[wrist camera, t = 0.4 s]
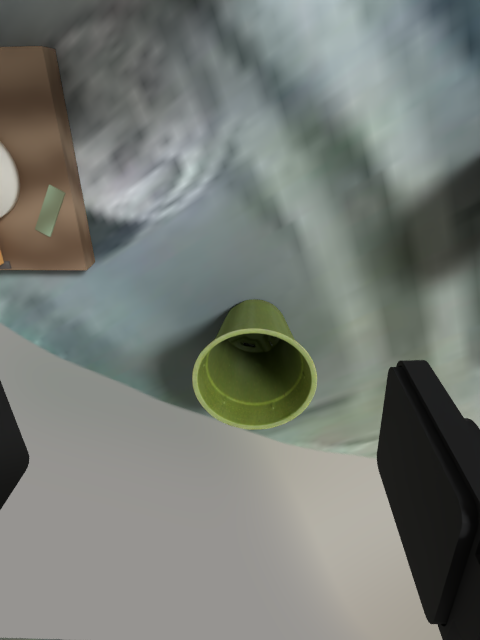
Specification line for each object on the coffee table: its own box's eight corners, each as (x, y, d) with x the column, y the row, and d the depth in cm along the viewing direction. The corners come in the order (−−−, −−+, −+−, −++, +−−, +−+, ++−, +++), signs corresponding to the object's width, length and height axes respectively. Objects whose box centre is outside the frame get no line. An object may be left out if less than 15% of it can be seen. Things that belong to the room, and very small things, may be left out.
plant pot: (220, 374, 52) (210, 438, 43) (194, 290, 47) (176, 341, 37) (312, 359, 51) (325, 422, 41) (297, 270, 45) (306, 318, 36)
